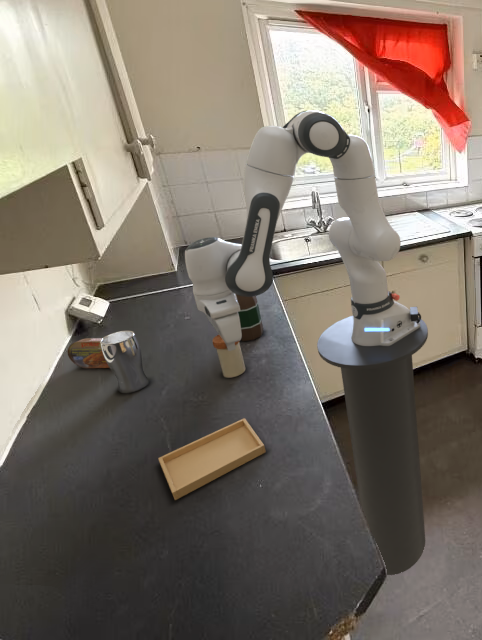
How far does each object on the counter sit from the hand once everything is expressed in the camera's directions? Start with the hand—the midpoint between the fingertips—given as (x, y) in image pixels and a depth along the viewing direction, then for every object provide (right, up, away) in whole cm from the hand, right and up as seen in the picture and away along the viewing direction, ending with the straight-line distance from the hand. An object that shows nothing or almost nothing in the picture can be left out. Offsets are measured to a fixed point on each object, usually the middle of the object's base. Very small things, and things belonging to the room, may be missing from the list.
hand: (227, 344), depth 115 cm
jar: (0, -8, +3) cm, 9 cm away
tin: (-39, -7, +5) cm, 40 cm away
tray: (+14, -19, -25) cm, 35 cm away
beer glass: (-23, -11, -3) cm, 25 cm away
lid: (0, +2, -1) cm, 2 cm away
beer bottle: (-7, -2, +21) cm, 23 cm away
